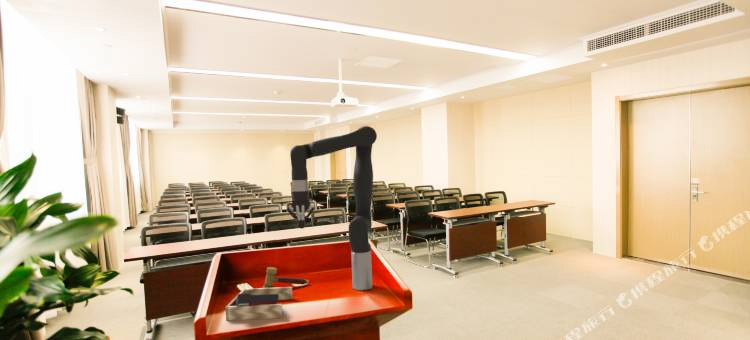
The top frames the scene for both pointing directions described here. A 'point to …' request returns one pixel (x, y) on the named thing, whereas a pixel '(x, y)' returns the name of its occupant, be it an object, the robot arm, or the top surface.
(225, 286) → the top surface
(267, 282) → the gavel
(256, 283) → the top surface
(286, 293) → the beige piece
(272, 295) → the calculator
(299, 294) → the top surface
